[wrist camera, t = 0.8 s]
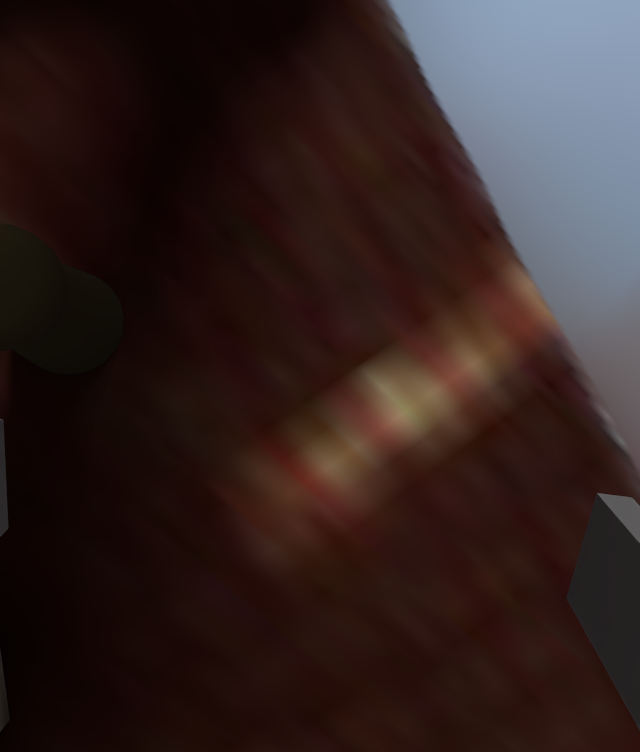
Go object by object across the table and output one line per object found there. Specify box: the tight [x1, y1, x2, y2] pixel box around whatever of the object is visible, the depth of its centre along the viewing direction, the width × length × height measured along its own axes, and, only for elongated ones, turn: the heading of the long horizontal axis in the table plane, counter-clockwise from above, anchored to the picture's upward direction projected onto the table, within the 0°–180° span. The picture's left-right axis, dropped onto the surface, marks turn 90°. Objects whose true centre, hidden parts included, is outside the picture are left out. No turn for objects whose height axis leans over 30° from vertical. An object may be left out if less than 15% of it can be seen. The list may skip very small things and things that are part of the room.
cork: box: [0, 224, 124, 375], centre depth 28 cm, size 6×6×11 cm
